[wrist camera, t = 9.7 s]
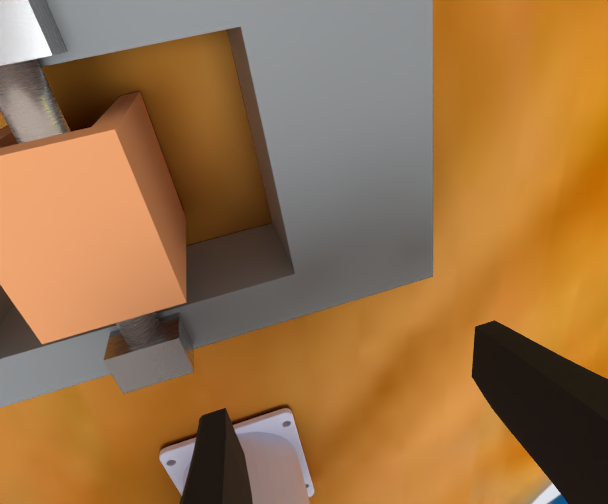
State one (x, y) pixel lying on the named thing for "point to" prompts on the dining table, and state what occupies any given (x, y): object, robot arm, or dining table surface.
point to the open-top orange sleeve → (90, 225)
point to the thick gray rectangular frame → (272, 162)
